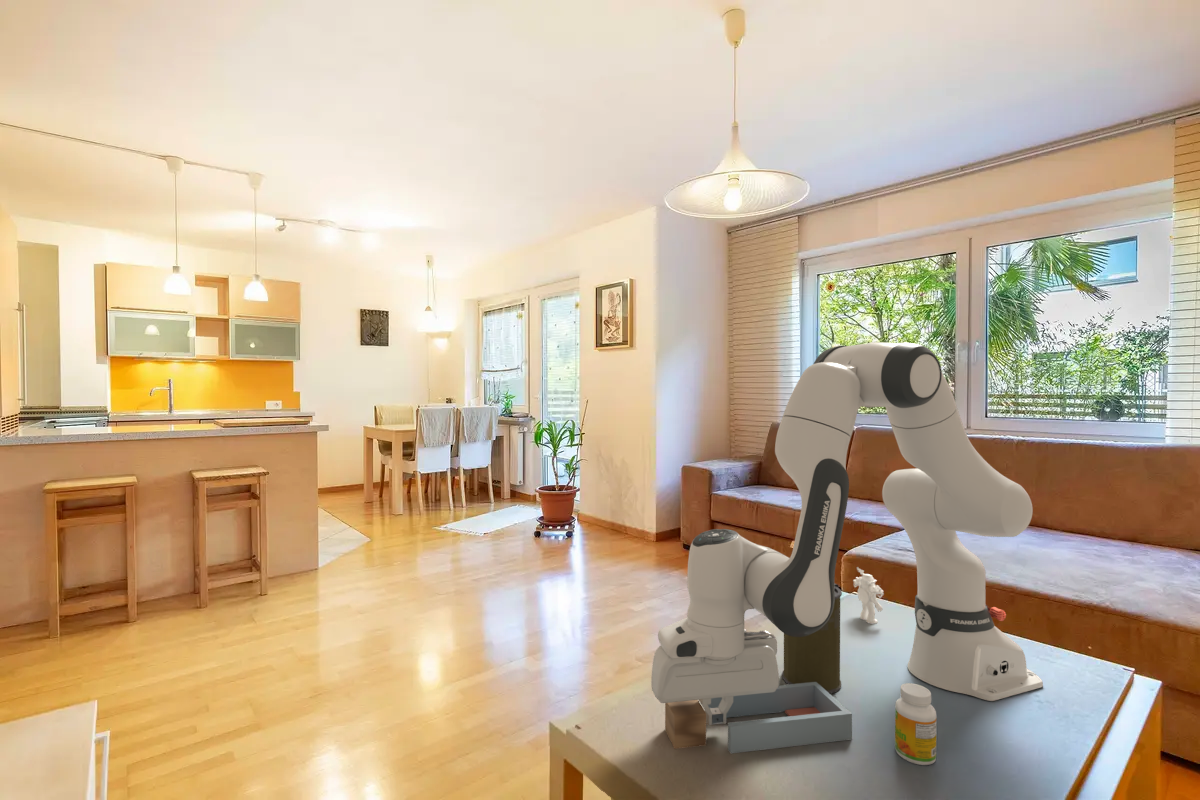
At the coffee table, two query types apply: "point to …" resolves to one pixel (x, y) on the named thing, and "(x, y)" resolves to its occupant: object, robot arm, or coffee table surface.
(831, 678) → the canister
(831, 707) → the channel
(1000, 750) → the coffee table surface
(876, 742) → the coffee table surface
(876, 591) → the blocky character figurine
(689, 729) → the walnut cube
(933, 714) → the supplement bottle
